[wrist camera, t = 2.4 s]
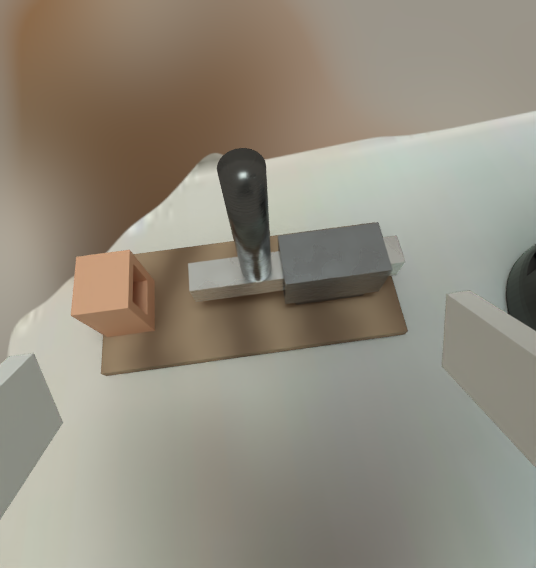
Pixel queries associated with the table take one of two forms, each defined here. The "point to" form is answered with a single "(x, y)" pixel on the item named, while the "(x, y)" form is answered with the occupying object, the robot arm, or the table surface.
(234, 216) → the sliding bolt
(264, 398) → the table surface
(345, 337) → the base board
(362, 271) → the outer sleeve
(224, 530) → the table surface
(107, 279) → the socket block
